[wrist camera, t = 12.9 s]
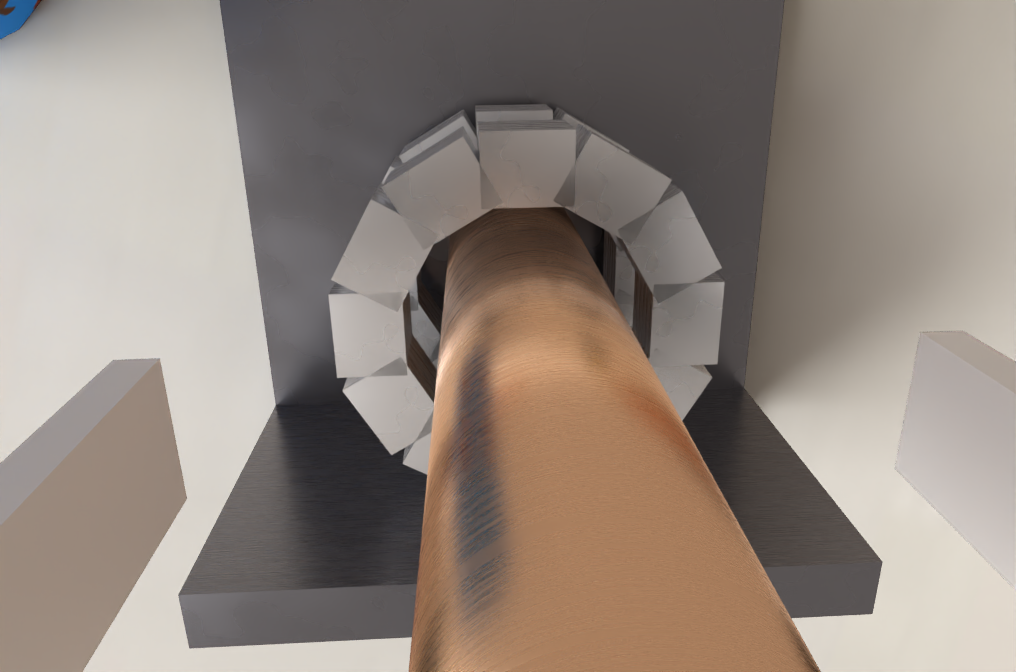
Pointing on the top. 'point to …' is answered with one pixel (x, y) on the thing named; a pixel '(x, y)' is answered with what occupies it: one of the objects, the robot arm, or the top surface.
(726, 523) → the copper tube
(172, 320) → the top surface
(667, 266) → the collar stand
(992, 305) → the top surface
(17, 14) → the thermos
